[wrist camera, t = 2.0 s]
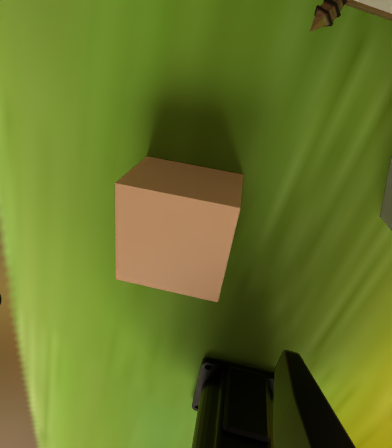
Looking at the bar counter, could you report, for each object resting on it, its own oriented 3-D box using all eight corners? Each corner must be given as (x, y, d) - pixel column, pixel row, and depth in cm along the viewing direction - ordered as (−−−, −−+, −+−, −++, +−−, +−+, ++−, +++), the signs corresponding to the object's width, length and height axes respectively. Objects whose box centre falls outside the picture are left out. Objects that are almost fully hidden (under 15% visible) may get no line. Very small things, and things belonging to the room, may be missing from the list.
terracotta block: (225, 254, 17) (217, 302, 13) (143, 236, 17) (116, 279, 14) (243, 173, 14) (240, 208, 11) (147, 155, 15) (114, 183, 11)
